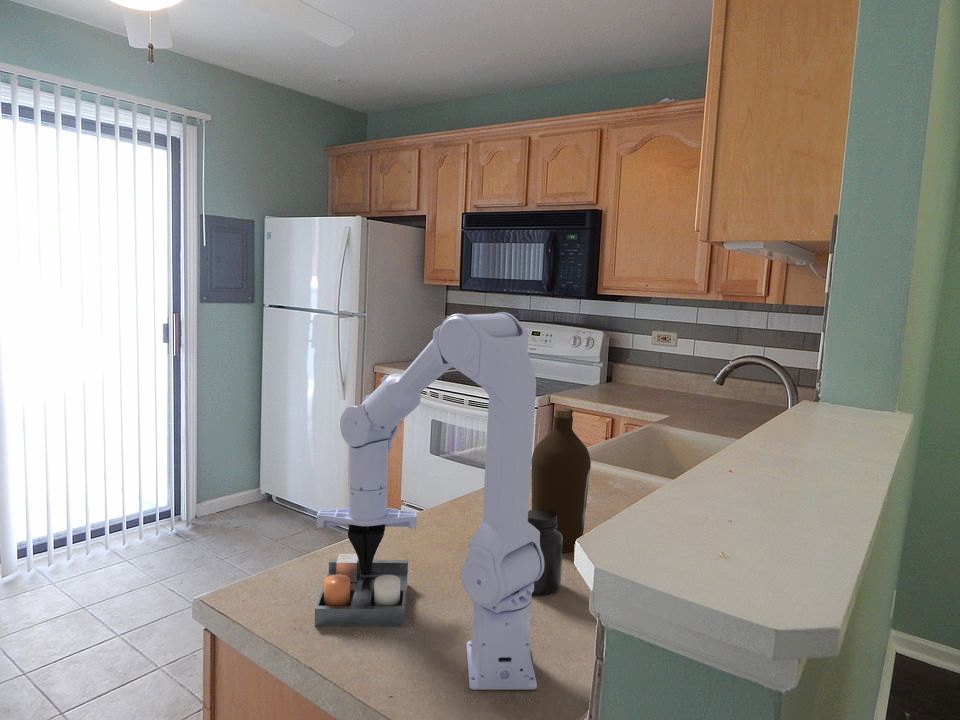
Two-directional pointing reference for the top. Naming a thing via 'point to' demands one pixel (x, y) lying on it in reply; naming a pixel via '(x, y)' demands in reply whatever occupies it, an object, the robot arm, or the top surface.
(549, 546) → the supplement bottle
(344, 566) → the slider knob
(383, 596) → the ivory button
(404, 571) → the panel
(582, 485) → the olive oil
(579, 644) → the top surface
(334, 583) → the orange button
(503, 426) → the robot arm
